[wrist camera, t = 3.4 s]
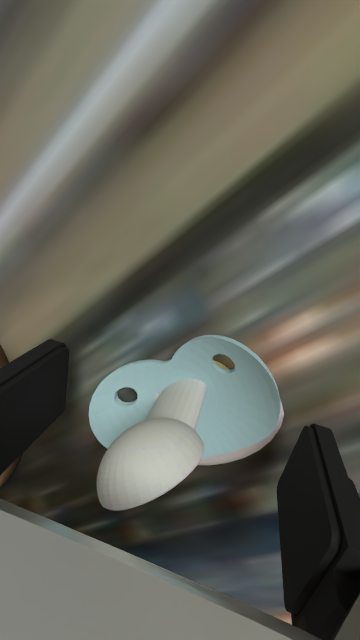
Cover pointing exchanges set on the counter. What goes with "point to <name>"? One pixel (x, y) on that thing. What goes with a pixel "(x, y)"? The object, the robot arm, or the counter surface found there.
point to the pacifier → (180, 418)
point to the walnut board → (1, 361)
